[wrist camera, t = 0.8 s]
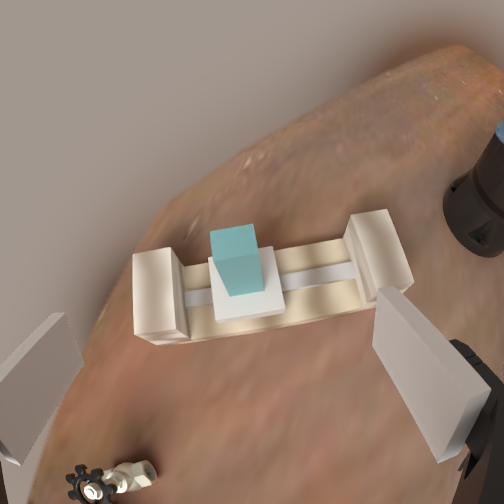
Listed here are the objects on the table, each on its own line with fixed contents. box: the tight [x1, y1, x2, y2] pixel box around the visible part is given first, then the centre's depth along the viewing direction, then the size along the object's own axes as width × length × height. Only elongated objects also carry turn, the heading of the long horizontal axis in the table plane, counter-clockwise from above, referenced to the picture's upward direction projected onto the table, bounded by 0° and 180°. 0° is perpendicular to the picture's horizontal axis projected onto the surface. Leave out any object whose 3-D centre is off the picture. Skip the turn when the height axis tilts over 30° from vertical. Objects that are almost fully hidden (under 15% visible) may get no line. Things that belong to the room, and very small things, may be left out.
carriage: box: [208, 224, 285, 324], centre depth 34 cm, size 8×8×13 cm
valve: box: [66, 460, 157, 504], centre depth 26 cm, size 7×7×12 cm
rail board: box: [133, 209, 414, 346], centre depth 38 cm, size 32×10×8 cm, turn 99°
